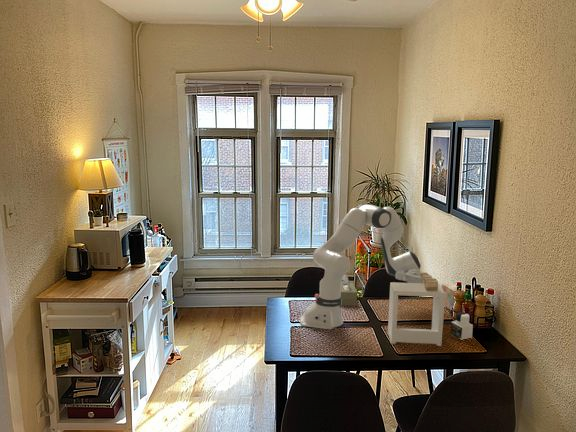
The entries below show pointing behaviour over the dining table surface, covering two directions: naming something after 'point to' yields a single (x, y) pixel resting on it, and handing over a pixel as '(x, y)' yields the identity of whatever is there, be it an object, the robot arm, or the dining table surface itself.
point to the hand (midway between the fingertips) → (415, 281)
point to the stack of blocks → (448, 294)
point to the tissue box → (348, 292)
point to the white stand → (416, 334)
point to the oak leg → (429, 282)
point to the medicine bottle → (461, 326)
